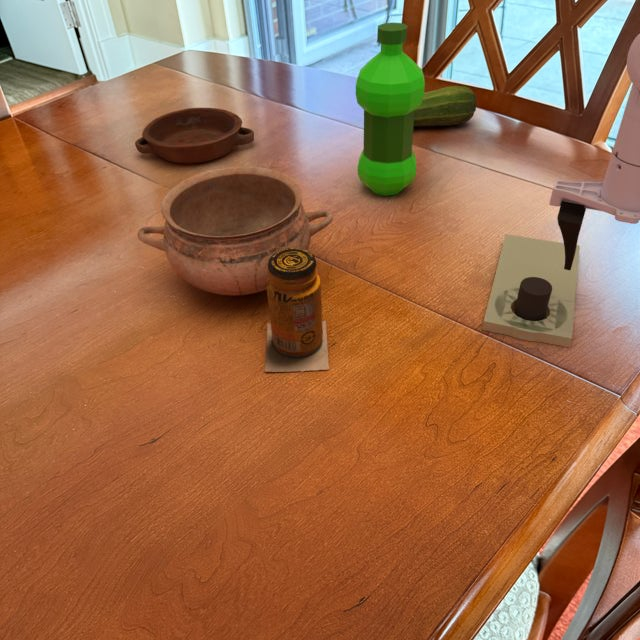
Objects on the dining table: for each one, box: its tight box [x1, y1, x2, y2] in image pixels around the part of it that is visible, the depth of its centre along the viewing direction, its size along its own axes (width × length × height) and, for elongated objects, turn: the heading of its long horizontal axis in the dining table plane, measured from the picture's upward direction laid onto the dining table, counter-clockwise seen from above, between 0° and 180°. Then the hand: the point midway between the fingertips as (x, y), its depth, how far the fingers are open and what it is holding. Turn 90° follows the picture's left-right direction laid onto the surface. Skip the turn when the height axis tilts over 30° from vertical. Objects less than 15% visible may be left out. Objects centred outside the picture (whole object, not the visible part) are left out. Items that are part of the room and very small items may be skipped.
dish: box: [134, 107, 255, 164], centre depth 112 cm, size 18×22×5 cm
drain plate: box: [481, 233, 581, 348], centre depth 77 cm, size 20×10×2 cm, turn 160°
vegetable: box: [413, 85, 478, 128], centre depth 116 cm, size 7×7×20 cm
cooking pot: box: [137, 166, 334, 296], centre depth 78 cm, size 25×19×12 cm
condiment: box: [264, 248, 330, 373], centre depth 67 cm, size 7×8×12 cm
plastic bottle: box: [355, 22, 426, 197], centre depth 92 cm, size 10×10×25 cm
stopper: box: [513, 277, 552, 321], centre depth 72 cm, size 4×4×5 cm
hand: (605, 273), depth 65 cm, fingers open, 7 cm apart
